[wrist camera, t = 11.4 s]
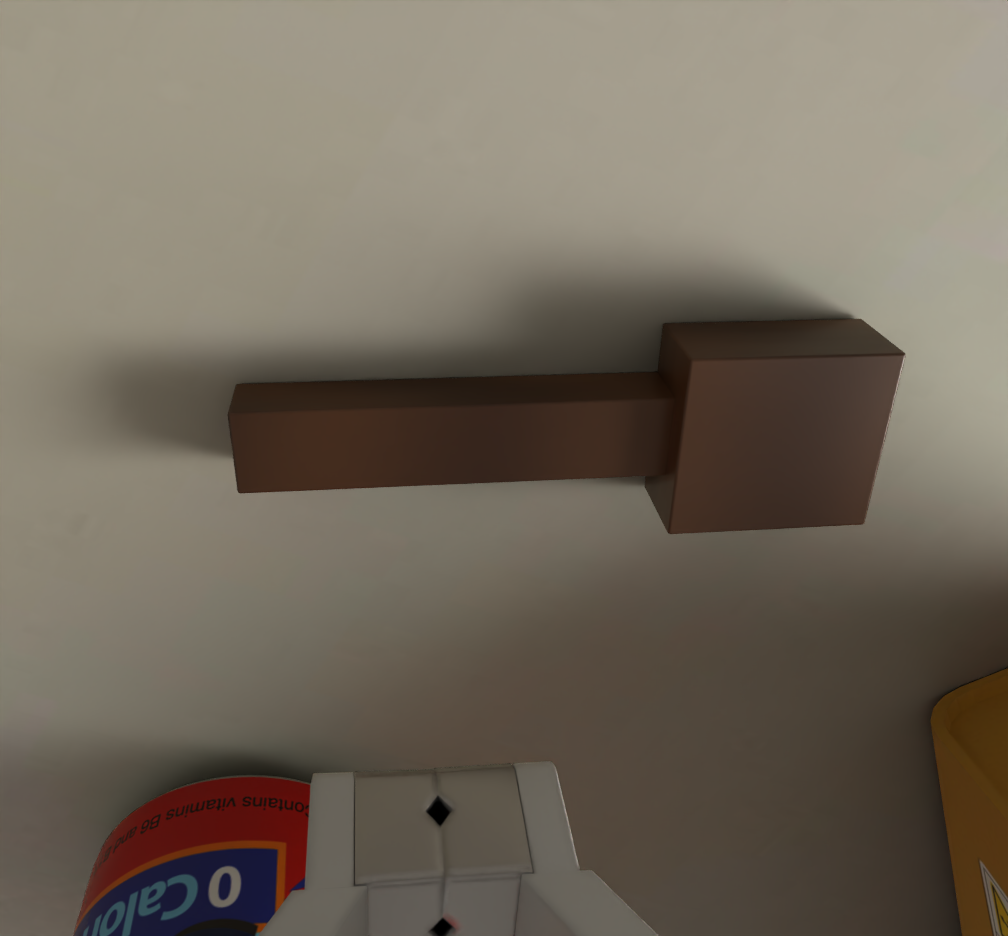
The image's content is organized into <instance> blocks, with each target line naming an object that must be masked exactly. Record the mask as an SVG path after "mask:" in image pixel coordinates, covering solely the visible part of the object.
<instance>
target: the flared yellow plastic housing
mask: <svg viewBox="0 0 1008 936" xmlns="http://www.w3.org/2000/svg"><path fill="white" fill-rule="evenodd" d="M930 722H931V728H932V735H933V742H934V749H935V755H936V762H937V769H938V776H939V782H940V789H941V796H942V803H943V809H944V816H945V823H946V830H947V836H948V843H949V850H950V857H951V863H952V870H953V877H954V884H955V890H956V897H957V904H958V910H959V917H960V924H961V931H962V936H1008V668H1007V669H1005V670H1002V671H1000V672H997V673H994V674H992V675H989V676H987V677H984V678H982V679H979V680H977V681H974V682H972V683H969V684H967V685H964V686H962V687H959V688H957V689H956V690H954V691H952V692H950V693H949V694H947V695H945V696H943V698H942V699H941V700H940V701H939V702H938V703H937V704H936V706H935V707H934V708H933V712H932V716H931V721H930Z"/></svg>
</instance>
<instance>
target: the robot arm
mask: <svg viewBox="0 0 1008 936" xmlns="http://www.w3.org/2000/svg"><path fill="white" fill-rule="evenodd" d="M258 936H659V935H658V934H657V933H656V932H655V931H654V930H653V929H652V928H651V927H649V926H648V925H647V924H646V923H645V922H644V921H643V920H642V919H641V918H640V917H639V916H638V915H637V914H636V913H635V912H634V911H633V910H632V909H631V908H630V907H629V906H628V905H627V904H626V903H625V902H624V901H623V900H622V899H621V898H620V897H619V896H618V895H617V894H616V893H615V892H614V891H613V890H612V889H611V888H610V887H609V886H608V885H607V884H606V883H605V882H604V881H603V880H602V879H600V878H599V877H598V876H597V875H596V874H595V873H594V872H593V871H592V870H580V868H579V864H578V860H577V855H576V851H575V847H574V843H573V838H572V834H571V830H570V825H569V821H568V817H567V813H566V808H565V804H564V800H563V795H562V791H561V787H560V783H559V778H558V774H557V770H556V767H555V765H554V764H553V763H552V761H546V762H528V763H513V764H512V765H511V763H505V764H490V765H475V766H459V767H444V768H434V769H422V770H386V771H355V776H354V772H337V773H313V777H312V781H311V786H310V804H309V821H308V838H307V856H306V873H305V890H295V891H292V892H291V893H290V894H289V896H288V897H287V898H286V899H285V901H284V902H283V903H282V905H281V906H280V907H279V909H278V910H277V911H276V913H275V914H274V915H273V917H272V918H271V919H270V921H269V922H268V923H267V925H266V926H265V927H264V928H263V930H262V931H261V932H260V934H259V935H258Z"/></svg>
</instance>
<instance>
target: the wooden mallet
mask: <svg viewBox="0 0 1008 936" xmlns="http://www.w3.org/2000/svg"><path fill="white" fill-rule="evenodd" d="M904 360H905V353H904V352H903V351H901V350H900V349H899V348H898V347H896V346H895V345H894V344H892V343H891V342H890V341H889V340H887V339H886V338H885V337H883V336H882V335H881V334H880V333H878V332H877V331H876V330H875V329H873V328H872V327H871V326H869V325H868V324H867V323H866V322H864V321H863V320H862V319H834V320H790V321H746V322H701V323H665V324H663V329H662V338H661V347H660V356H659V365H658V372H637V373H603V374H568V375H534V376H499V377H465V378H430V379H396V380H361V381H327V382H292V383H258V384H237V385H236V387H235V390H234V394H233V398H232V401H231V405H230V408H229V412H228V420H229V428H230V436H231V444H232V451H233V459H234V467H235V475H236V482H237V490H238V492H239V493H258V492H281V491H305V490H328V489H351V488H375V487H398V486H422V485H445V484H468V483H492V482H515V481H539V480H562V479H585V478H609V477H632V476H646V481H645V488H646V490H647V492H648V494H649V496H650V498H651V500H652V502H653V504H654V506H655V508H656V510H657V512H658V514H659V516H660V518H661V520H662V522H663V524H664V526H665V528H666V530H667V532H668V533H669V534H683V533H702V532H722V531H742V530H762V529H781V528H801V527H821V526H841V525H861V524H864V522H865V518H866V514H867V510H868V506H869V502H870V498H871V494H872V490H873V486H874V482H875V478H876V474H877V470H878V466H879V461H880V457H881V453H882V449H883V445H884V441H885V437H886V433H887V429H888V425H889V421H890V417H891V413H892V409H893V405H894V401H895V397H896V393H897V388H898V384H899V380H900V376H901V372H902V368H903V364H904Z"/></svg>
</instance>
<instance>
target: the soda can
mask: <svg viewBox="0 0 1008 936" xmlns="http://www.w3.org/2000/svg"><path fill="white" fill-rule="evenodd" d="M310 786H311V783H308V782H304V781H300V780H296V779H290V778H284V777H277V776H266V775H237V776H226V777H218V778H212V779H207V780H202V781H198V782H194V783H191V784H187V785H184V786H181V787H178V788H176V789H173V790H170V791H168V792H166V793H164V794H161V795H159V796H157V797H156V798H154V799H152V800H150V801H148V802H147V803H145V804H144V805H142V806H141V807H139V808H138V809H136V810H135V811H134V812H133V813H131V814H130V815H129V816H127V817H126V818H125V819H124V820H123V821H122V822H121V823H120V824H119V825H118V826H117V827H116V828H115V829H114V830H113V832H112V833H111V834H110V835H109V837H108V838H107V840H106V841H105V843H104V845H103V846H102V848H101V851H100V853H99V855H98V857H97V859H96V862H95V864H94V867H93V870H92V873H91V876H90V879H89V882H88V886H87V889H86V892H85V896H84V899H83V903H82V906H81V910H80V913H79V916H78V920H77V923H76V927H75V930H74V934H73V936H258V935H259V934H260V932H261V931H262V930H263V928H264V927H265V926H266V925H267V923H268V922H269V921H270V919H271V918H272V917H273V915H274V914H275V913H276V911H277V910H278V909H279V907H280V906H281V905H282V903H283V902H284V901H285V899H286V898H287V897H288V896H289V894H290V893H291V892H292V891H295V890H305V873H306V856H307V838H308V821H309V804H310Z"/></svg>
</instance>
